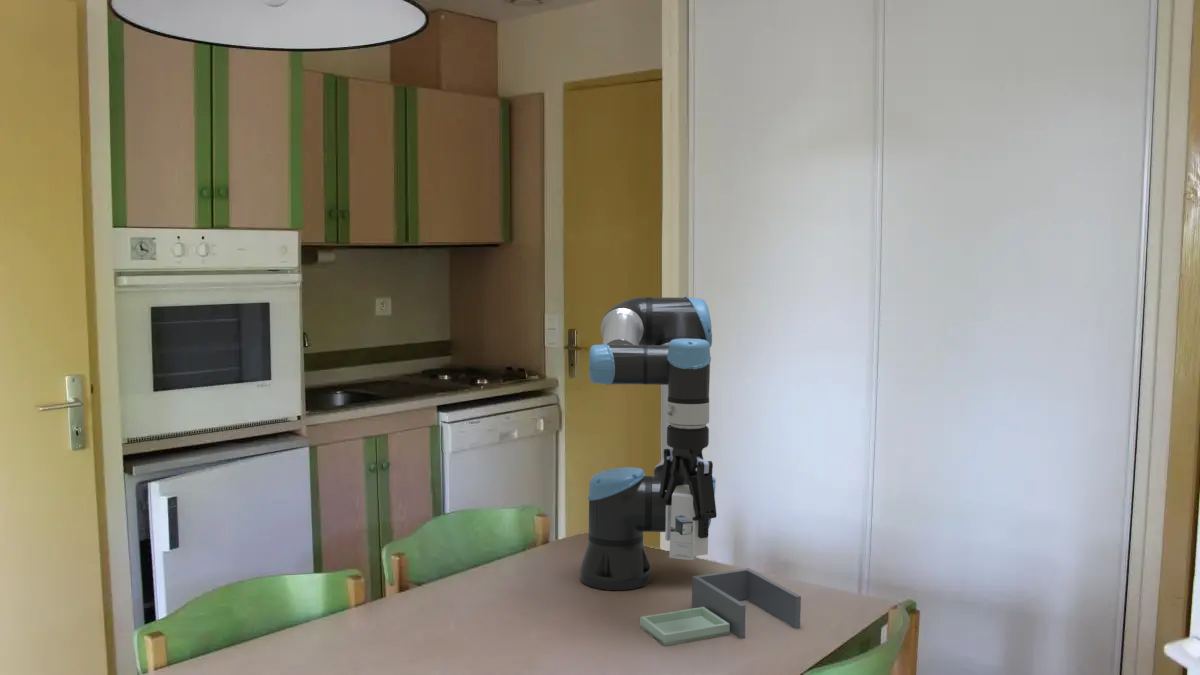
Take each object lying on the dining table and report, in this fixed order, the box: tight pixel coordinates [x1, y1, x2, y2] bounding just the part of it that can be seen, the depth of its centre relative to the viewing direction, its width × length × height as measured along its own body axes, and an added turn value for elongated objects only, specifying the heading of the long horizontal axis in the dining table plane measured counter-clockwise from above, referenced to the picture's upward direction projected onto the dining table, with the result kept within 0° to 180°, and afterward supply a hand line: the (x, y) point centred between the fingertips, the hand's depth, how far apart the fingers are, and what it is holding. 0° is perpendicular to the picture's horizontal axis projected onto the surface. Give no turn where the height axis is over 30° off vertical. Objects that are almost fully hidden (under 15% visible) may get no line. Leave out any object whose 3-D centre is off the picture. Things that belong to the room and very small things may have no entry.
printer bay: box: [691, 568, 802, 640], centre depth 181 cm, size 18×13×6 cm
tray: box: [639, 607, 731, 647], centre depth 174 cm, size 9×13×2 cm
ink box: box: [669, 485, 701, 561], centre depth 173 cm, size 9×5×12 cm, turn 168°
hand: (686, 546), depth 173 cm, fingers closed on ink box, 9 cm apart
